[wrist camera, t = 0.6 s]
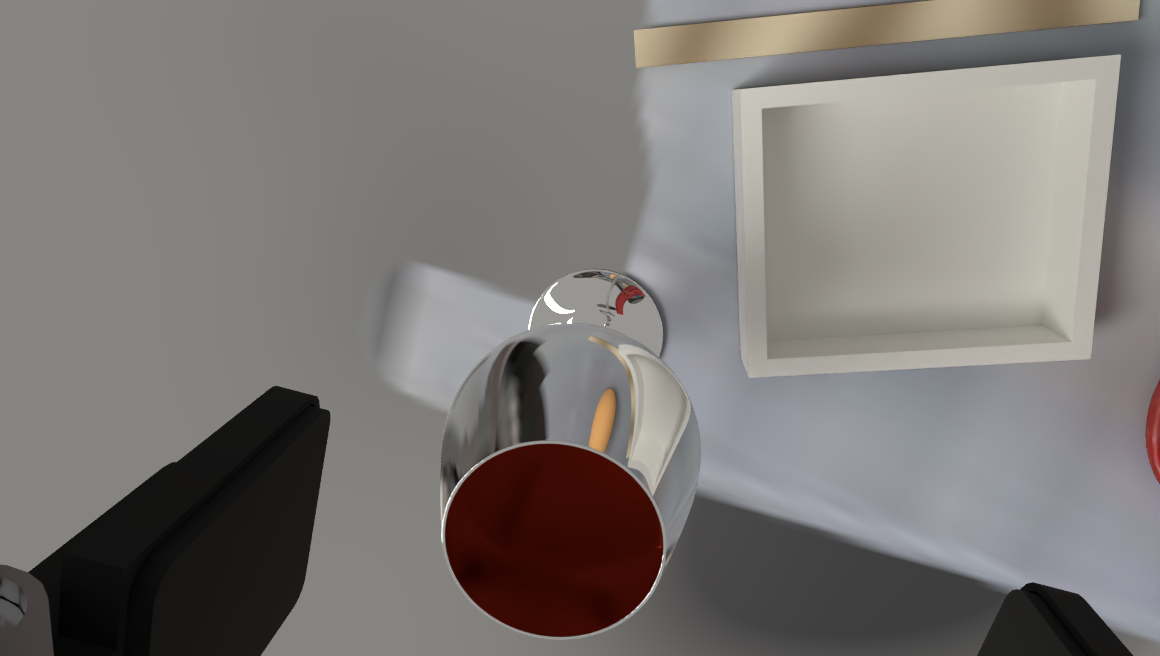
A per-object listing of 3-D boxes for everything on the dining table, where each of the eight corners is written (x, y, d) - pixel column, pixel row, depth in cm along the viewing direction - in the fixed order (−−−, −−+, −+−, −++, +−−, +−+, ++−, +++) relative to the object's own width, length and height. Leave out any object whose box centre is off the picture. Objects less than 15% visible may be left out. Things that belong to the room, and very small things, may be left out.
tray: (1078, 57, 32) (1121, 54, 29) (1054, 337, 35) (1090, 358, 32) (731, 89, 33) (740, 89, 30) (740, 355, 37) (748, 377, 34)
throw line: (1137, -20, 31) (1142, -21, 31) (1133, 20, 31) (1137, 19, 31) (634, 30, 33) (633, 30, 33) (636, 68, 33) (636, 67, 33)
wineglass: (653, 433, 38) (662, 712, 21) (492, 389, 38) (368, 631, 21) (704, 276, 36) (761, 445, 18) (531, 229, 36) (429, 353, 18)
